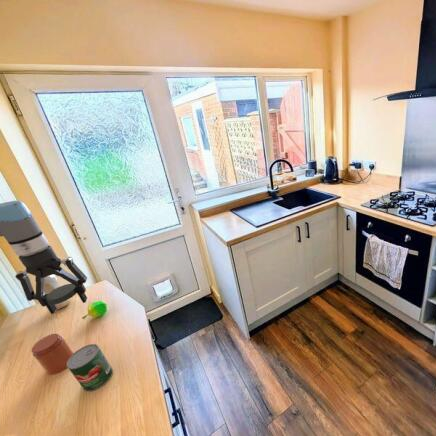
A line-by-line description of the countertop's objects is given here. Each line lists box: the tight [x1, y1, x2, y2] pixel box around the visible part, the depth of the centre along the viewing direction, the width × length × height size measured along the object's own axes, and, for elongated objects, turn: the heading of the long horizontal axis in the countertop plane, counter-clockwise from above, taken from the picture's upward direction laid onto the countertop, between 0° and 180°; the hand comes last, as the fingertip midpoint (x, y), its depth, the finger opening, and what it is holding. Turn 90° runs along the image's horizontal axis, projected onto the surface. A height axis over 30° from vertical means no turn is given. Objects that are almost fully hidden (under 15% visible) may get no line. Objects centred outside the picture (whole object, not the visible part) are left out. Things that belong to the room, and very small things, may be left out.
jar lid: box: [45, 283, 77, 305], centre depth 83 cm, size 8×8×2 cm
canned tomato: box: [67, 343, 114, 393], centre depth 75 cm, size 8×8×11 cm
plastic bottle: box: [43, 274, 71, 310], centre depth 108 cm, size 6×7×20 cm
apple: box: [81, 300, 108, 321], centre depth 102 cm, size 7×6×9 cm
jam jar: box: [31, 333, 75, 376], centre depth 82 cm, size 8×8×11 cm
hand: (70, 305), depth 85 cm, fingers closed on jar lid, 8 cm apart
